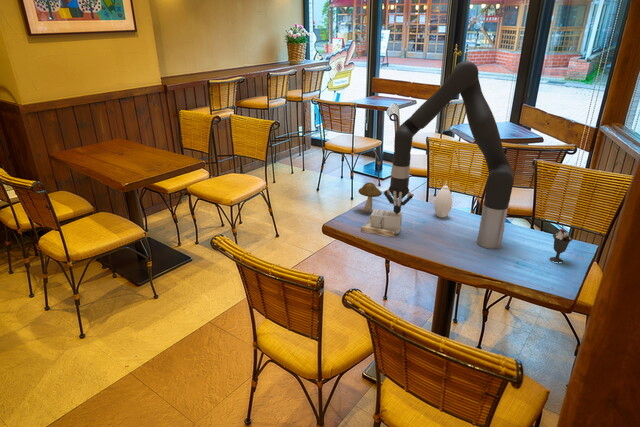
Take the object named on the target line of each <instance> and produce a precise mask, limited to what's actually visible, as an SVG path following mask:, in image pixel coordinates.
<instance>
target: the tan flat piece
mask: <svg viewBox="0 0 640 427" xmlns="http://www.w3.org/2000/svg"><path fill="white" fill-rule="evenodd" d="M401 222H403V221H402V219H401ZM370 224H371V214H370V215H369V219H368V221H367V222H366V223H365V225H361V227H360V228H361V229H360V232H362V233H366V234H370V235H372V234H373V235H377V236H383V237H386V238H387V237H388V238H395V236H396V234H397V233H395V232H394V231H389V230H383V229H378V228H372V227H370Z"/></svg>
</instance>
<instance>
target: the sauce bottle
mask: <svg viewBox="0 0 640 427" xmlns="http://www.w3.org/2000/svg"><path fill="white" fill-rule="evenodd" d="M447 183H448V182H447V180H446V181H445V184H444V185H442V187H441V189H440V190H439V191H438V193H437V195H436V197H435V199H434V203H433V204H434V205H433V209H434V212H435V214H436V215H437V216H438V217H439V218H442V219H443V218H445V217H447V216H448V215H449V214H450V212H451V211H452V207H453V197H452V192H451V189H449V186H448V185H447Z"/></svg>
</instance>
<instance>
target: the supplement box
mask: <svg viewBox="0 0 640 427" xmlns="http://www.w3.org/2000/svg"><path fill="white" fill-rule="evenodd" d="M372 210H373V211H372V212H371V214H370V215H371V224H370V227H372V228H378V229H383V230H389V231H394V232H395V233H396V234H400V230H401V226H402V221H401V220H402V217H403V212H401V211H400V213H398V214H395V212H394V210H393V211H392V210H385V209H377V208H374V209H372Z"/></svg>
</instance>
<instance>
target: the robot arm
mask: <svg viewBox="0 0 640 427" xmlns="http://www.w3.org/2000/svg"><path fill="white" fill-rule="evenodd" d="M459 94H460V96H461V99H462V101H463V104H464V110H465V115H466V119H467V123H468V126H469V130H470V131H471V135H472V137H473V140H474V142H475V144H476V146H477V147H478V149H479V150H480V151H481V153H482V154H483V157H484V160H485V162H486V166H487V171H488V176H487V181H486V186H485V191H484V198H483V199H484V200H483V205H482V212H481V216H480V221H479V227H478V233H477V234H478V235H477V237H476V244H478V246H480V247H483V248H486V249H488V250H489V249H491V250H494V249H499V250H500V249H501V246H502V240H503V237H504V232H505V226H506V225H505V223H506V220H507V214H508V209H509V205H510V200H511V196H512V191H513V188H514V179H515V174H514V170H513V168H512V166H511V164H510V162H509V159H508V158H507V155H506V154H505V151H504V147H503V143H502V139H501V134H500V131H499V128H498V127H499V126H498V125H497V122H496V119H495V116H494V113H493V112H492V109H491V107H490V105H489V104H488V102H487V100H486V98H485V95H484V94H483V91H482V87H481V83H480V78H479V68H478V66H477V65H476V64H475V63H474V62H472V61H468V60H464V61H461V62H459V63H457V64H455V66H454V68H453V69H452V72H451V73H450V75H449V76H448V78H447V80H445V82H444V83H443V84H442V85H441V86H440V88H438V89H437V91H436V92H434V94H432V95H431V96H429V98H427V99H426V101H423V103H422V104H421V105H420V106H419V107H418V108H417V109H416V110H415V111H414V112H413V113H412V115H411V116H410V117H408V119H405V121H404V122H403V123H402V124H400V125H399V126H398V127H397V128H396V130H395V133H394V141H393V142H394V144H393V146H394V147H393V149H394V151H393V156H392V166H391V171H390V183H389V184H390V185H389V187H388V188H387V189H385V190H384V191H383V195H384V196H385V197H386V199H387V201H388V202H389V203H390V204H392V205H393V211H394V212H395V214H398V213H400V212H401V210H402V206H405V205H406V204H407V203H408V202H409V201H410V200H412V199H413V197H414V193H411V191H410V189H409V184H410V175H411V174H410V173H411V151H412V146H413V145H412V144H413V138H414V136H415V135H416V134H418V133H419V132H420V131H421V130H423V129H424V128H426V127H427V126H428V125H429V124H430V123H431V122H432V121H433V120H434V119H435V118H436V117H437V116H438V115H439V114H440V113H441V111H443V109H444V108H445V107H446V106H447V105H448V104H449V103H451V101H452V100H454V98H456V97H457V96H458V95H459ZM405 197H406V198H405ZM404 198H405V199H404ZM403 199H404V200H403Z"/></svg>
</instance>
